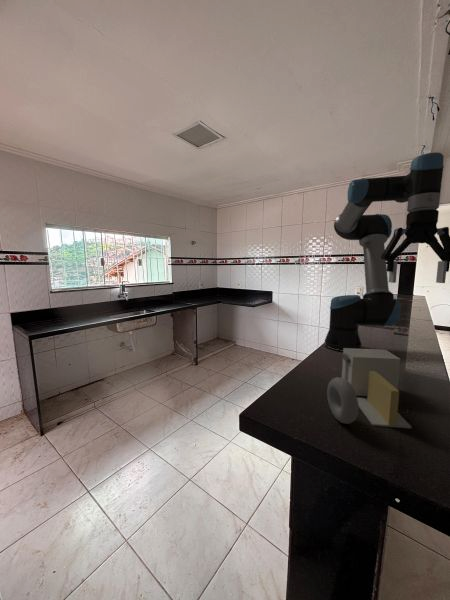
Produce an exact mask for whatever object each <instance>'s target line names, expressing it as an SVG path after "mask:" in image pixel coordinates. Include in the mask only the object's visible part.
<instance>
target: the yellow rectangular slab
mask: <svg viewBox="0 0 450 600" xmlns="http://www.w3.org/2000/svg"><path fill="white" fill-rule="evenodd" d="M366 398H367V400H368V401H369V403H370V404H371V405H372V406H373V407H374V409H375V410H376V411H377V412H378V413H379V414H380V416H381V417H382V418H383V419H384V420H385V421H386V423H387V424H388V425H394V426H396V424H397V412H398V411H399V409H398V408H399V401H400V400H399V399H400V390H399V389H398V390H397V389H396V388H395V387H394V386H392V385H391V384H390V383H389V382H388V381H387V380H385V379H384V378H383V377H382V376H381V375H380V374H378V373H377V372H376V371H369V383H368V396H366ZM398 413H399V412H398Z"/></svg>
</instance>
